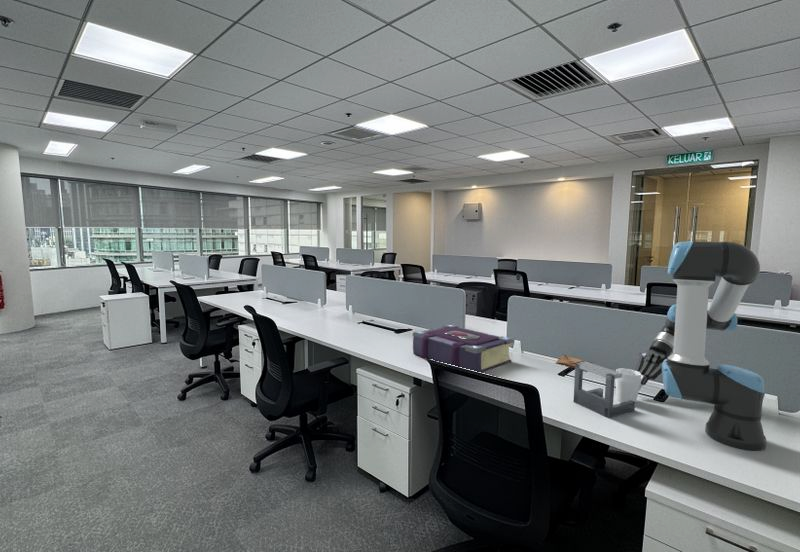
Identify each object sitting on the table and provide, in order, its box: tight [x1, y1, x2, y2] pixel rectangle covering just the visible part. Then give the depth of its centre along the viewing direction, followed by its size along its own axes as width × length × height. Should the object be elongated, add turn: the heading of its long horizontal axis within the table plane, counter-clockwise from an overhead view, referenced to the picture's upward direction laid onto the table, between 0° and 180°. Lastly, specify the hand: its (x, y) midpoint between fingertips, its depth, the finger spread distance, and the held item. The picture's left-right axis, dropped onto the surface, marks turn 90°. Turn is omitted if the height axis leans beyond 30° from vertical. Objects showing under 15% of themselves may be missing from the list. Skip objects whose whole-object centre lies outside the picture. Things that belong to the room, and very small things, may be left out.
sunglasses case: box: [555, 354, 595, 373], centre depth 199 cm, size 18×7×7 cm
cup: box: [614, 367, 641, 404], centre depth 156 cm, size 9×9×12 cm
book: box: [412, 324, 514, 373], centre depth 211 cm, size 33×45×14 cm
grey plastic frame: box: [572, 360, 636, 419], centre depth 150 cm, size 15×16×16 cm
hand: (635, 389), depth 159 cm, fingers closed
